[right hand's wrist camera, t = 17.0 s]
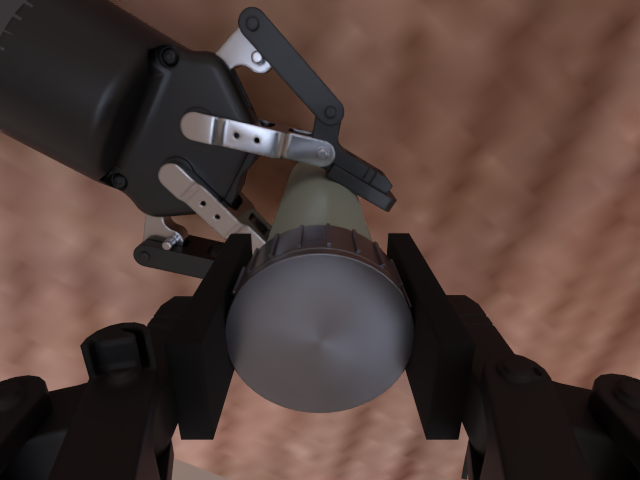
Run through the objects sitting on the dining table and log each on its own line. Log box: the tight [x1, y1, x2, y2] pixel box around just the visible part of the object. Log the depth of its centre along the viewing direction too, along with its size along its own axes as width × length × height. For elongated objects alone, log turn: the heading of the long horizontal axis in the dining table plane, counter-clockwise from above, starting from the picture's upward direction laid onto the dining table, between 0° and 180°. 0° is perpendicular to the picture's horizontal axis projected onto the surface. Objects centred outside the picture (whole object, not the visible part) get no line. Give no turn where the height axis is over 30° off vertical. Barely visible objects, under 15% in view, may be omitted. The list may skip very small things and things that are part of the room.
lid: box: [225, 223, 415, 413], centre depth 11 cm, size 5×5×2 cm
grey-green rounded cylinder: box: [267, 162, 373, 242], centre depth 19 cm, size 4×4×16 cm
